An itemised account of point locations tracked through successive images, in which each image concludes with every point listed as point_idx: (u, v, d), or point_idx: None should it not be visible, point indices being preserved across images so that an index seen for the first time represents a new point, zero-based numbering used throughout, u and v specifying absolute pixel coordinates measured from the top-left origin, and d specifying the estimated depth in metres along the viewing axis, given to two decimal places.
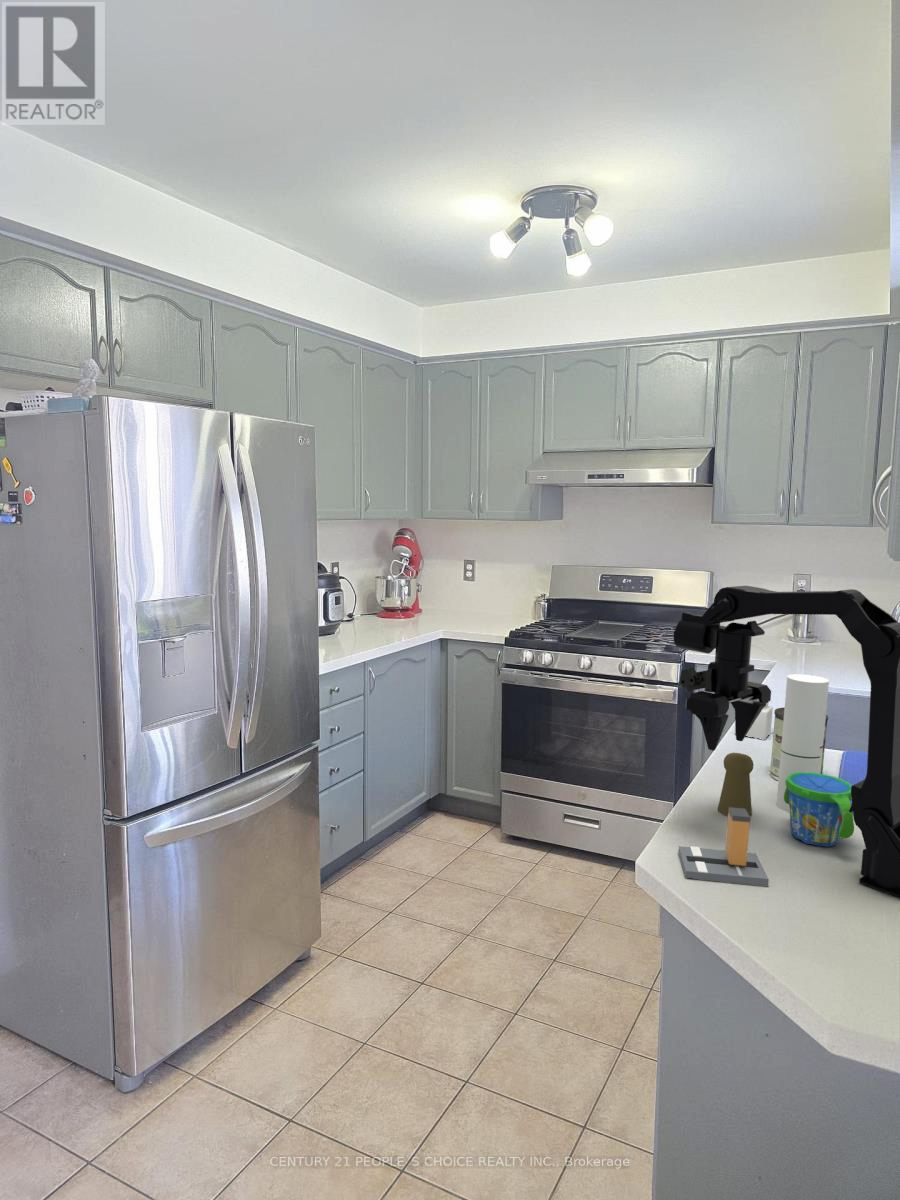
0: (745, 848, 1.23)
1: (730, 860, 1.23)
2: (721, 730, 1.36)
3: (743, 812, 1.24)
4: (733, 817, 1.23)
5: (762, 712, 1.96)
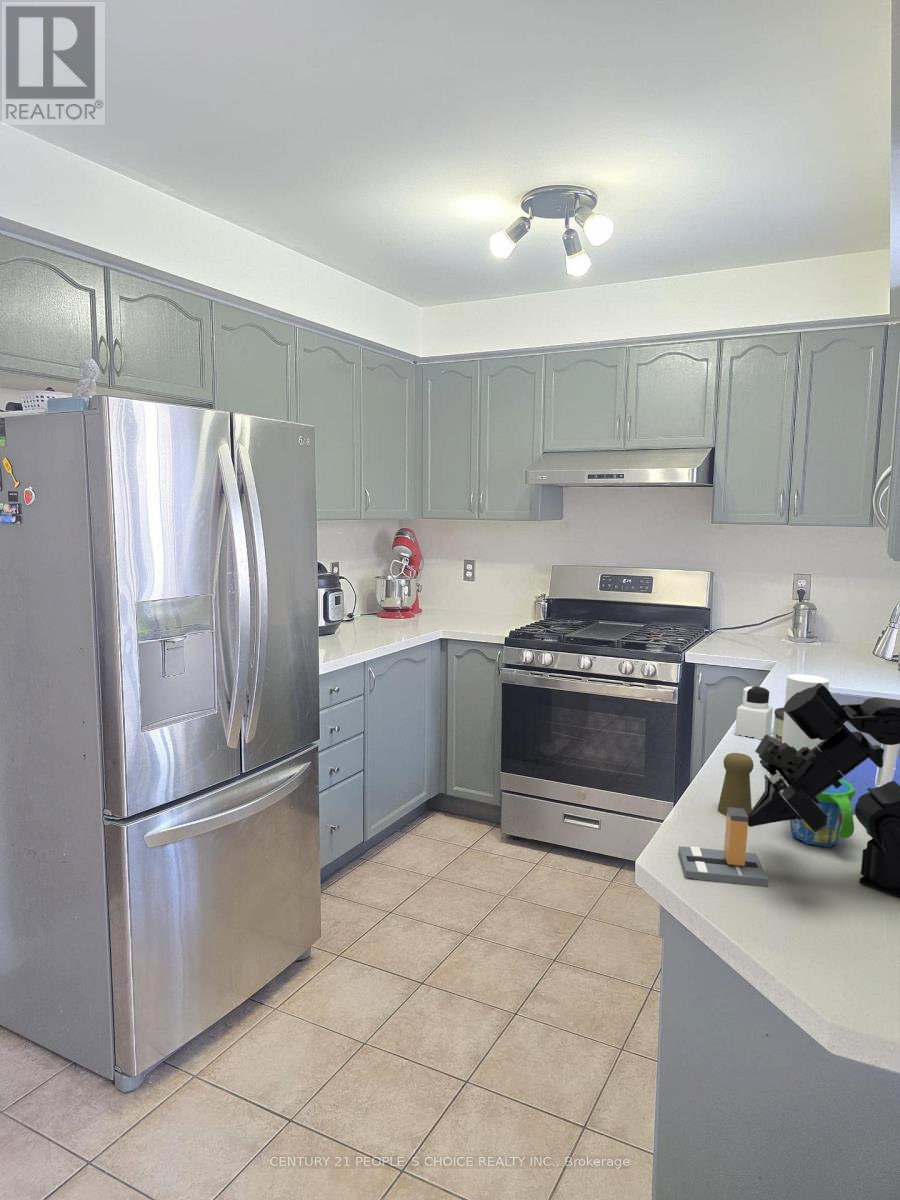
0: (744, 848, 1.23)
1: (729, 860, 1.23)
2: None
3: (742, 812, 1.24)
4: (732, 817, 1.23)
5: (762, 712, 1.96)
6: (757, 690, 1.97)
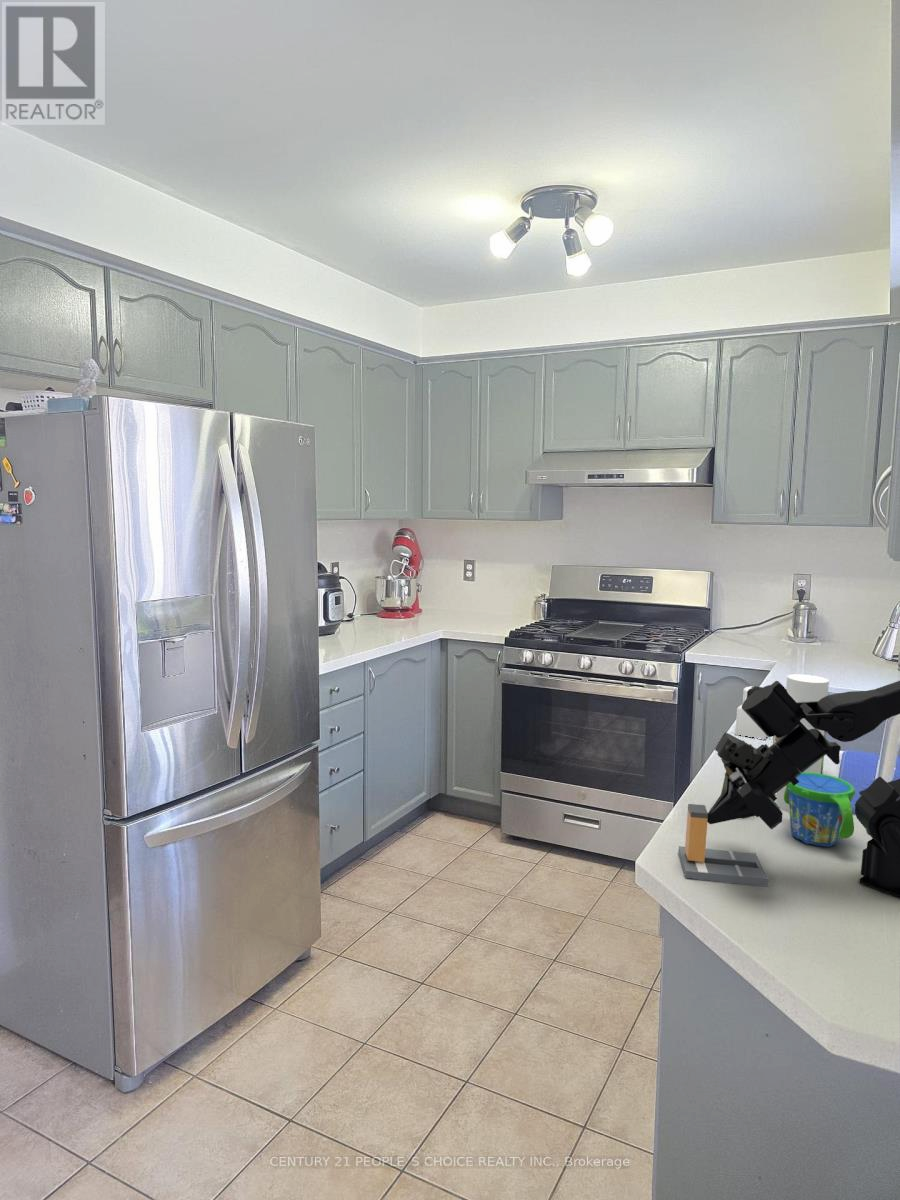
0: (703, 844, 1.24)
1: (689, 856, 1.24)
2: None
3: (702, 808, 1.25)
4: (691, 813, 1.24)
5: None
6: (757, 690, 1.97)
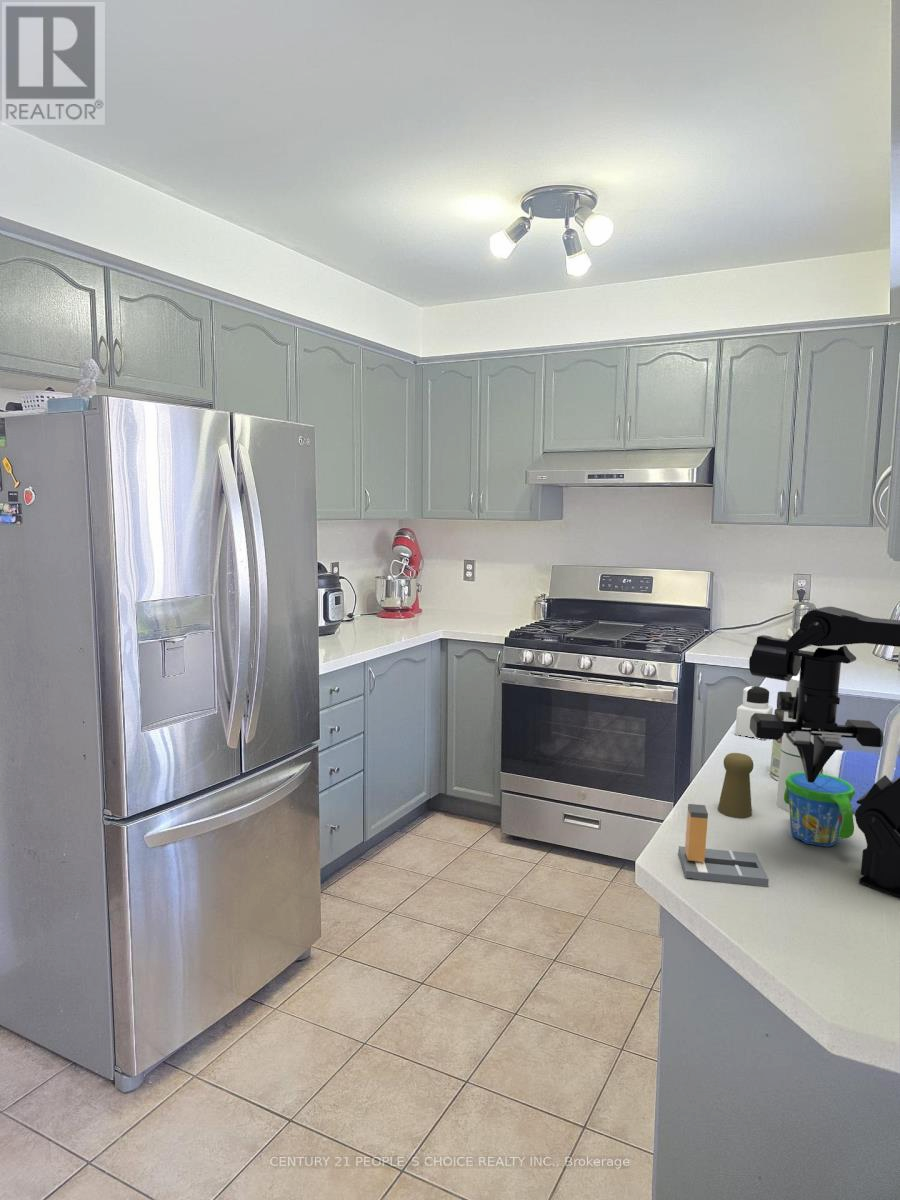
0: (703, 844, 1.24)
1: (689, 856, 1.24)
2: (809, 760, 1.26)
3: (702, 808, 1.25)
4: (691, 813, 1.24)
5: (762, 712, 1.96)
6: (757, 690, 1.97)
